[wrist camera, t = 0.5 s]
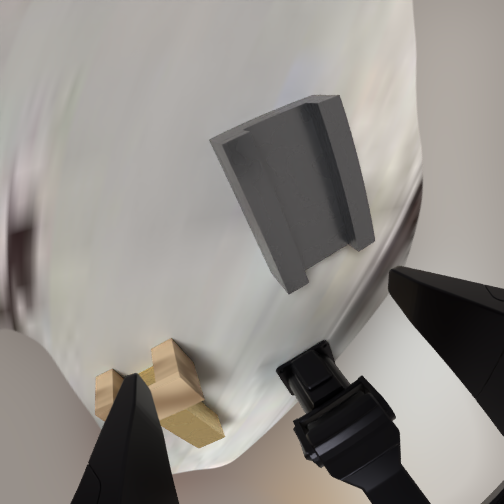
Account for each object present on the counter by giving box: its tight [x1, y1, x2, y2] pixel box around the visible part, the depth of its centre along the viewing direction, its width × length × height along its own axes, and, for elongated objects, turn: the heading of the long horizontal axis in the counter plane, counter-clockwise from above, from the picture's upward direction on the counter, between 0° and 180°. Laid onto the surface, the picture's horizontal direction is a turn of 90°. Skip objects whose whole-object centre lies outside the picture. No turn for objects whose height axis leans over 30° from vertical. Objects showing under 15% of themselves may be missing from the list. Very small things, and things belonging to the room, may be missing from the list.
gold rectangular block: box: [139, 366, 225, 448], centre depth 28 cm, size 12×4×4 cm, turn 23°
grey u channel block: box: [209, 95, 375, 294], centre depth 21 cm, size 12×8×4 cm
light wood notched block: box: [95, 338, 205, 421], centre depth 24 cm, size 4×9×5 cm, turn 113°
